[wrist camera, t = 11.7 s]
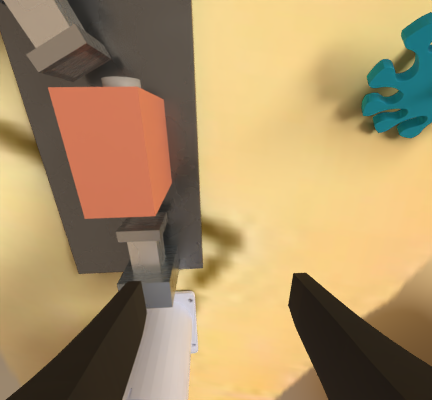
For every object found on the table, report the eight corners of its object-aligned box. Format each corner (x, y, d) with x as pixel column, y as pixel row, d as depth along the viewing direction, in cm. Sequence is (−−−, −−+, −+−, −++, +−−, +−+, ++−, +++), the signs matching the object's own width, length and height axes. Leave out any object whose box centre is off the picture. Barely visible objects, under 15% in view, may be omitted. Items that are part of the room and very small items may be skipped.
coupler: (172, 192, 17) (157, 229, 11) (127, 194, 16) (88, 232, 11) (162, 86, 14) (134, 64, 8) (107, 86, 14) (41, 64, 8)
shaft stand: (202, 261, 20) (202, 308, 15) (84, 266, 20) (43, 317, 15) (187, -97, 11) (174, -271, 6) (-29, -105, 11) (-234, -303, 6)
